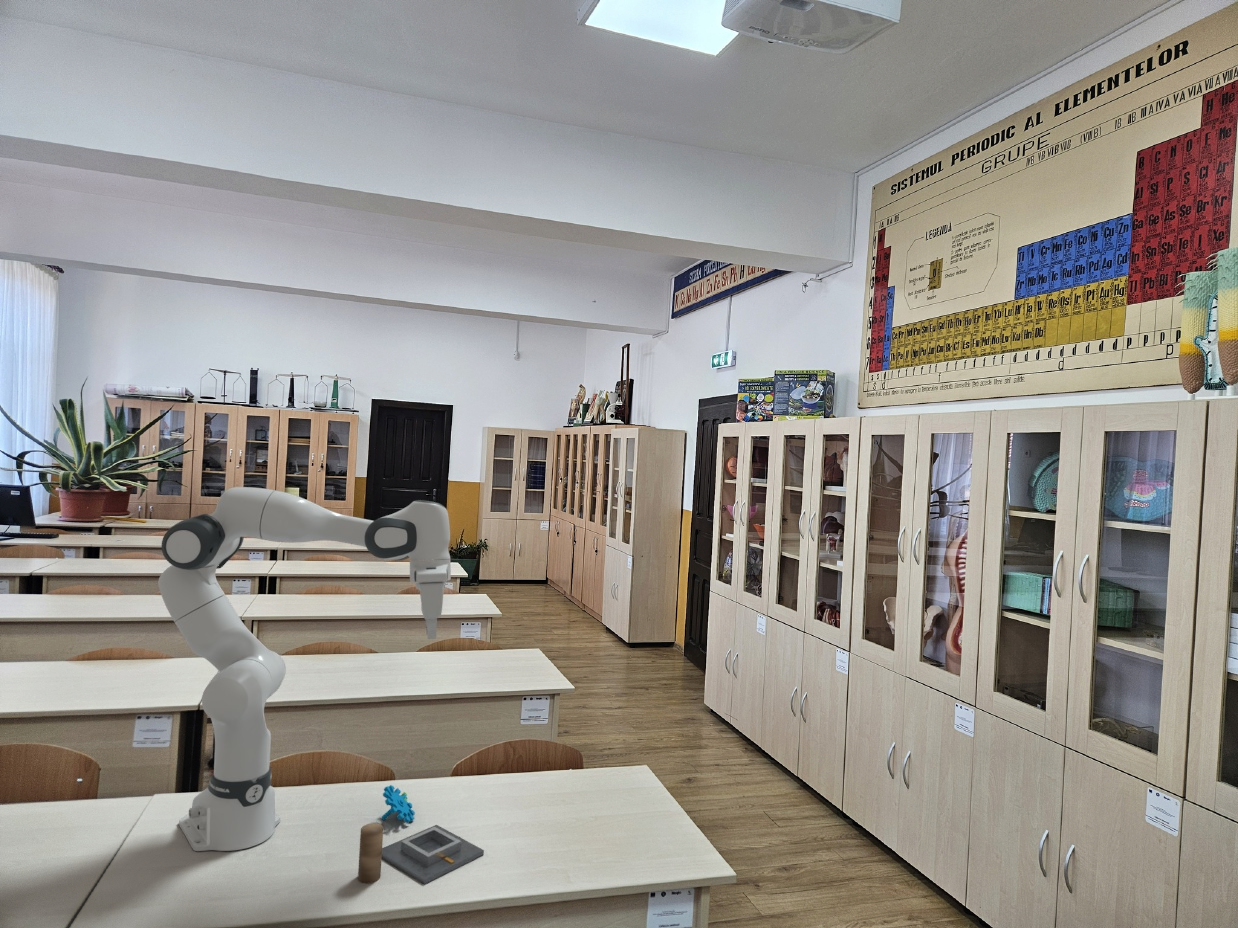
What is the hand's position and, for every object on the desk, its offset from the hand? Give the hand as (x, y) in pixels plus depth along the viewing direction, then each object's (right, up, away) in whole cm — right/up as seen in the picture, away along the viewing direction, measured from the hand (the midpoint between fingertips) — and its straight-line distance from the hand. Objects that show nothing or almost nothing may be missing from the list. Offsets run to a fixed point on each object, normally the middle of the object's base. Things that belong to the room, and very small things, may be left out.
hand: (431, 636), depth 171 cm
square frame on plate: (+1, -47, -3) cm, 47 cm away
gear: (-11, -46, +12) cm, 49 cm away
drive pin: (-10, -46, -13) cm, 49 cm away
